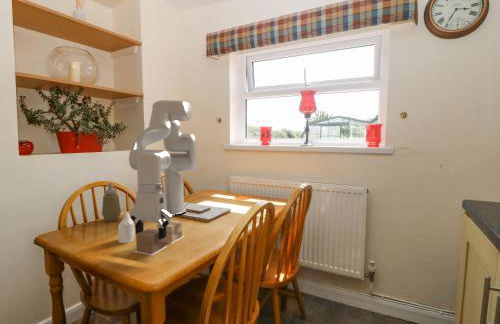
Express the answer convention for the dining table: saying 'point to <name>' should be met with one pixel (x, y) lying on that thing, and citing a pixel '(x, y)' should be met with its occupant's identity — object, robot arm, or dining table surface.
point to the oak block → (173, 231)
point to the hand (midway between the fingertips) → (150, 236)
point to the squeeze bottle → (111, 205)
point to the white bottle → (126, 230)
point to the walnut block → (149, 241)
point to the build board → (160, 249)
